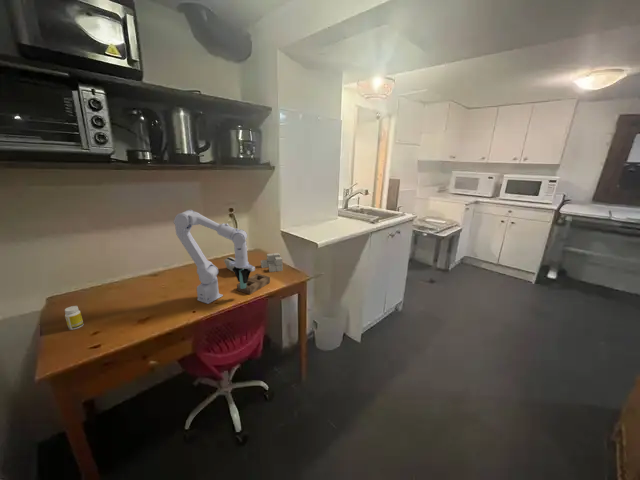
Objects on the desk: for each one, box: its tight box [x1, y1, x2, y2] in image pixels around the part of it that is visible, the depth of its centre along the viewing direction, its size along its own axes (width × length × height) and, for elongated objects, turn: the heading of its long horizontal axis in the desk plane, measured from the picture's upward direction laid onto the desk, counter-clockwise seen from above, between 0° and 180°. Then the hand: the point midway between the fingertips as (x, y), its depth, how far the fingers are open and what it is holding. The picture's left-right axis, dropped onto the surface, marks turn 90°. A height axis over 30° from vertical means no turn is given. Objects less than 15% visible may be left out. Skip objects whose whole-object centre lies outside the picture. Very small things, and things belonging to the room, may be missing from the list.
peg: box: [239, 269, 246, 289], centre depth 135 cm, size 3×3×9 cm
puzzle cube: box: [260, 252, 284, 273], centre depth 174 cm, size 12×12×8 cm
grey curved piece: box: [223, 256, 235, 273], centre depth 168 cm, size 17×5×10 cm, turn 46°
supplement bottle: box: [64, 305, 85, 331], centre depth 112 cm, size 5×5×8 cm
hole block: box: [236, 273, 271, 295], centre depth 149 cm, size 16×9×4 cm, turn 152°
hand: (242, 281), depth 136 cm, fingers closed on peg, 3 cm apart
